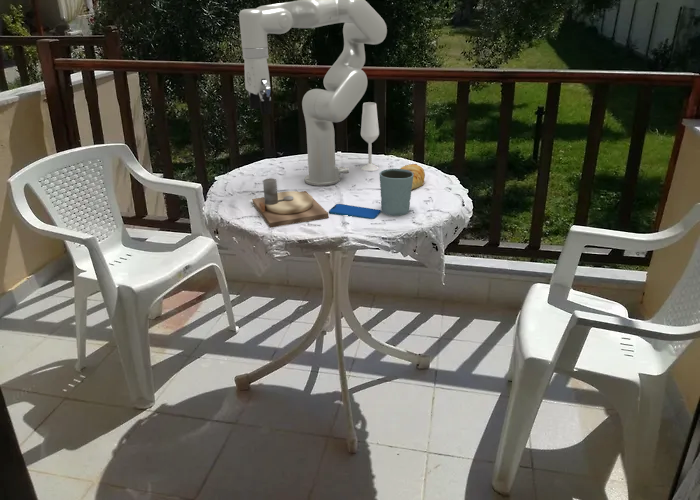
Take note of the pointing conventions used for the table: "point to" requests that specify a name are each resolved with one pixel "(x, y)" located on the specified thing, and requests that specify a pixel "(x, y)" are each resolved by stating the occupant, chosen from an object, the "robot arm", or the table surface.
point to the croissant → (416, 174)
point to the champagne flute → (369, 131)
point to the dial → (285, 199)
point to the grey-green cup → (395, 191)
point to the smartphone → (354, 211)
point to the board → (286, 219)
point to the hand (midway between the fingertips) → (260, 111)
